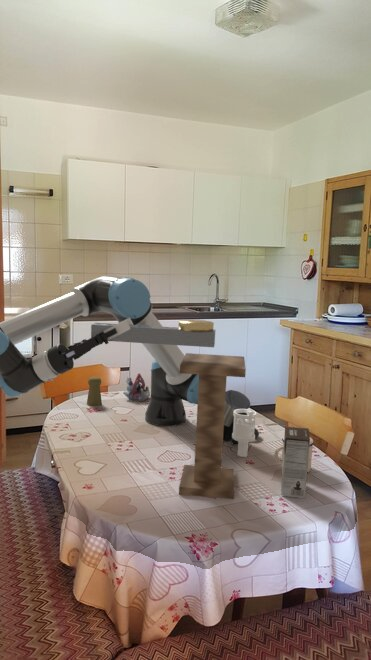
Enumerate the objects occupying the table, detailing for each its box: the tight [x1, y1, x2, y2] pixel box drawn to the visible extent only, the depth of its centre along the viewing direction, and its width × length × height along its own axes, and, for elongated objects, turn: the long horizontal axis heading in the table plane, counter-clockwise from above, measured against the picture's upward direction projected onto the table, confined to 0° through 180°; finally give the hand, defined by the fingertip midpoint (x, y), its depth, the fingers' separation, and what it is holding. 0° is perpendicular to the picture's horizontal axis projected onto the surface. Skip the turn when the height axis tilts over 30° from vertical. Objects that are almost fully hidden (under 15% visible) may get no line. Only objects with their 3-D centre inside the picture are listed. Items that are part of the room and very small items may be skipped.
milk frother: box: [223, 389, 260, 445], centre depth 169 cm, size 14×16×15 cm
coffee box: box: [280, 426, 310, 499], centre depth 133 cm, size 9×6×16 cm
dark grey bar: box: [90, 319, 216, 348], centre depth 131 cm, size 32×9×6 cm, turn 85°
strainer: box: [232, 408, 257, 458], centre depth 156 cm, size 7×7×15 cm
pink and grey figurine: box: [122, 373, 151, 402], centre depth 213 cm, size 11×11×12 cm
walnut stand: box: [178, 352, 247, 500], centre depth 133 cm, size 16×16×34 cm
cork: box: [86, 376, 102, 407], centre depth 203 cm, size 6×6×11 cm
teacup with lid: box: [274, 435, 315, 473], centre depth 148 cm, size 12×9×12 cm
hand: (129, 323), depth 131 cm, fingers closed on dark grey bar, 4 cm apart
